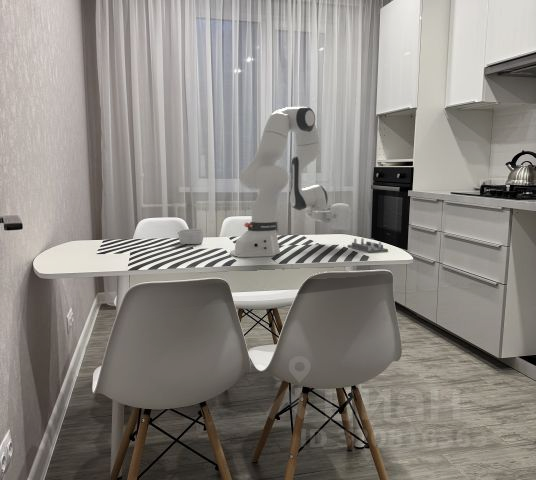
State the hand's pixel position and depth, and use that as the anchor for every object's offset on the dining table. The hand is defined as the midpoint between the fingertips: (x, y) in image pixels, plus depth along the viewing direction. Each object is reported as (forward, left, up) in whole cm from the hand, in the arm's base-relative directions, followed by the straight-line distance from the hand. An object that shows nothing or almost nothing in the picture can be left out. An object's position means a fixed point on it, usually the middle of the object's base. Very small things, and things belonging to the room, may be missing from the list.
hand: (340, 215), depth 216 cm
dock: (+12, -4, -16) cm, 20 cm away
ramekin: (-59, +49, -16) cm, 78 cm away
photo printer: (0, 0, -7) cm, 7 cm away
